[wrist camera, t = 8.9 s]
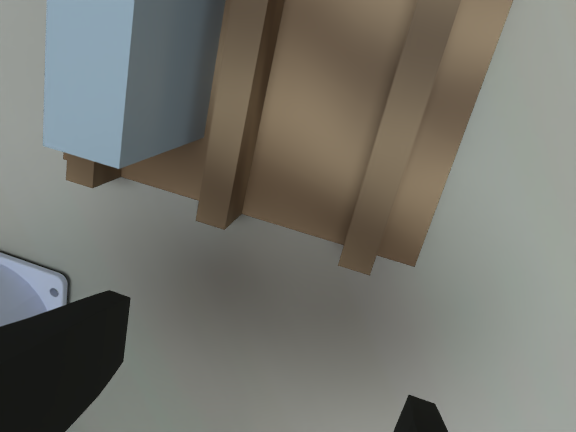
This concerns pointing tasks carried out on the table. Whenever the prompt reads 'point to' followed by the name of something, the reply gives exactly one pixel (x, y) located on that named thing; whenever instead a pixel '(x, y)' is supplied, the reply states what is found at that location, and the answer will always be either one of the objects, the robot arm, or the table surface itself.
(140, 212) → the table surface
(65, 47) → the tile
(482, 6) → the rack
